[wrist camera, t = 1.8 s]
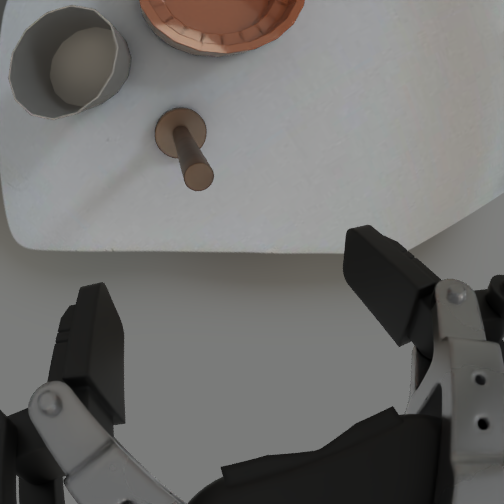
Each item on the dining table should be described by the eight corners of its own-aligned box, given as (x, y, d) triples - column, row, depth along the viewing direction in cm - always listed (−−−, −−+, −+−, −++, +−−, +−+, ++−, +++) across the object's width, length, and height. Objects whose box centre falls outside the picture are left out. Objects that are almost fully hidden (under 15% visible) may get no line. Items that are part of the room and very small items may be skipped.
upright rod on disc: (148, 146, 29) (139, 205, 16) (166, 100, 27) (172, 117, 14) (193, 161, 31) (223, 230, 18) (212, 117, 30) (259, 150, 16)
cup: (42, 49, 20) (-2, 41, 12) (118, 14, 21) (101, -14, 13) (65, 121, 25) (29, 139, 17) (140, 87, 26) (131, 89, 18)
